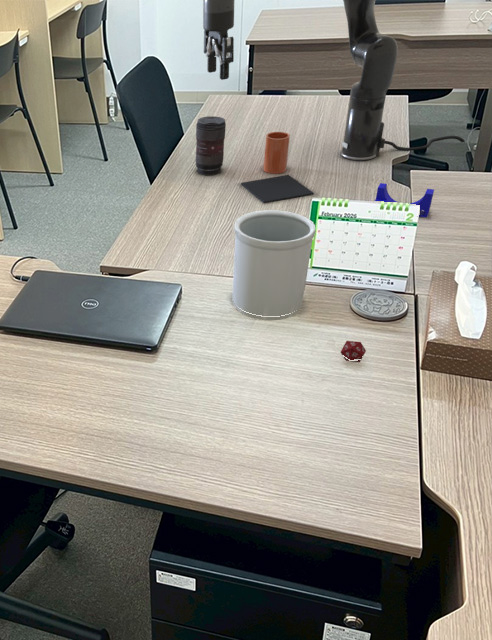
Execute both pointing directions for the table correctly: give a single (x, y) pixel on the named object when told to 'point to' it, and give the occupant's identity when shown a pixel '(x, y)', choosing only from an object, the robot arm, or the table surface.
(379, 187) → the blue cradle bracket
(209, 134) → the camera lens
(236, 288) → the utensil holder
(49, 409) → the table surface
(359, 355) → the dice
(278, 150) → the cup
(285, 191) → the desk mat
